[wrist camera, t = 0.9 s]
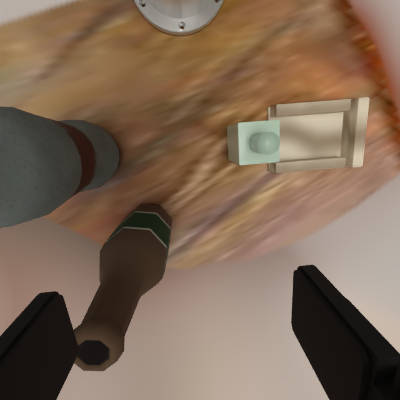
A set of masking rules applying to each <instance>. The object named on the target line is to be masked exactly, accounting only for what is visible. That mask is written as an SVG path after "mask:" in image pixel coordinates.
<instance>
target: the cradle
mask: <svg viewBox="0 0 400 400" xmlns="http://www.w3.org/2000/svg"><path fill="white" fill-rule="evenodd" d="M368 107H369V97H366V98H357V99H353V100H351V99H345V100H332V101H319V102H305V103H292V104H278V105H274V106H272V107H268V120H280V146H279V162H273V163H268V171H271V172H274V173H286V172H298V171H310V170H321V169H333V168H345V166H347V167H362V166H363V156H364V146H365V136H366V126H367V116H368Z"/></svg>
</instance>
